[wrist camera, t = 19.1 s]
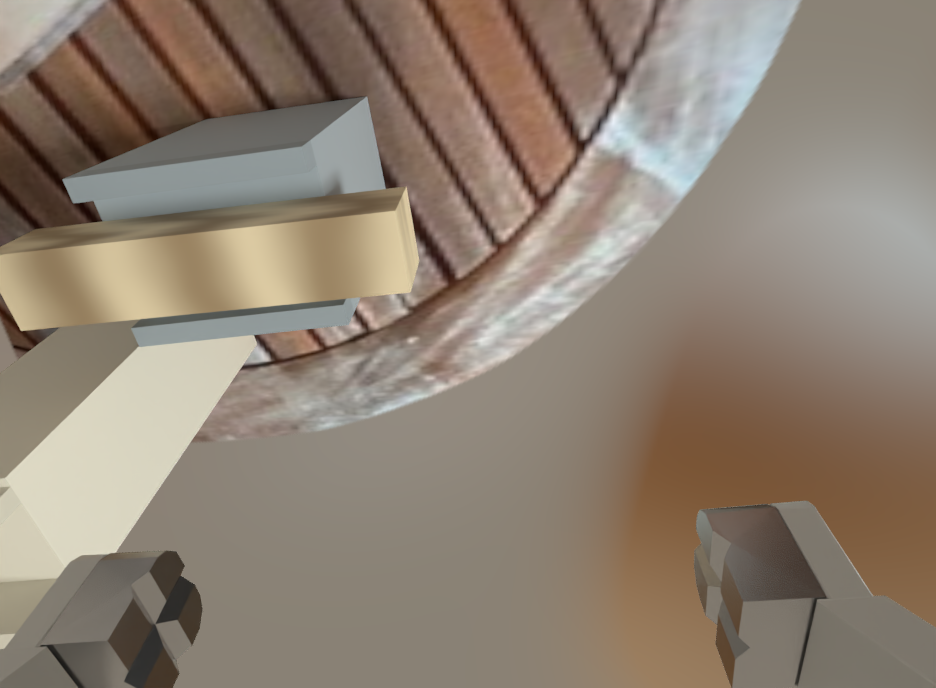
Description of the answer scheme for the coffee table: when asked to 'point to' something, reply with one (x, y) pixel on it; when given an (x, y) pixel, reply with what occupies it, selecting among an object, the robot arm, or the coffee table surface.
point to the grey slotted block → (240, 193)
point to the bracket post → (93, 445)
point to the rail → (212, 260)
